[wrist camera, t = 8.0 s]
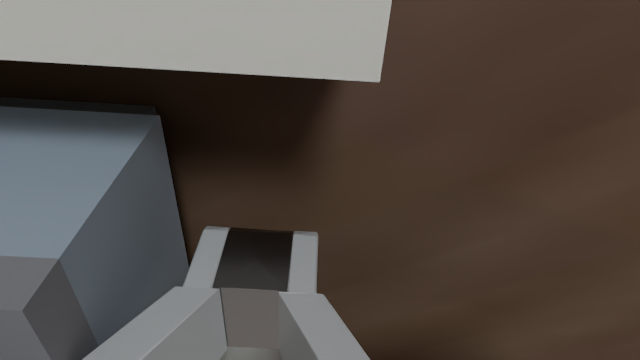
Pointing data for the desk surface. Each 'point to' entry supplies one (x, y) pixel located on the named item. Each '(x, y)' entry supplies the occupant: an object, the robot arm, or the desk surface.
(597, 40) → the desk surface
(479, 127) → the desk surface
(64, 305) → the grey-blue box
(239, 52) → the bay
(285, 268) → the robot arm
